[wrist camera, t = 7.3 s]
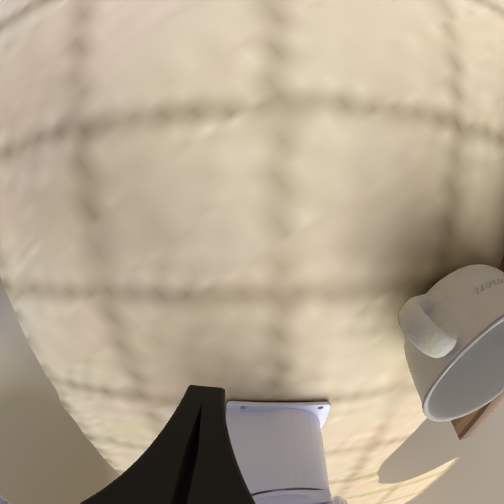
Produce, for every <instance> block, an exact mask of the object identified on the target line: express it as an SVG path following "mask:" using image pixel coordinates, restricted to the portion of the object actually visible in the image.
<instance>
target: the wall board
mask: <svg viewBox="0 0 504 504" xmlns="http://www.w3.org/2000/svg"><path fill="white" fill-rule="evenodd" d="M500 270H501V271H502V272H504V258H503V261H502V264H501V268H500ZM503 398H504V391H503V392H502V393H501V394H499V395H498V396H497V397H496V398H494V399H493V400H492V401H490V402H489V403H487V404H486V405H484V406H483V407H481V408H479V409H478V410H476V411H474V412H472V413H470V414H467V415H465V416H463V417H460V418H457V419H453V420H451V422H452V424H453V426H454V428H455V431H456V433H457V435H458V437H459V440H461V439H464V438H467V437H470V436H472V435H474V433H475V432H476V431H477V430H478V429H479V428H480V427H481V426H482V424H483V423H484V422H485V421H486V420H487V418H488V417H489V416H490V415H491V413H492V412H493V411H494V410H495V408H496V407H497V406H498V404H499V403H500V402H501V401H502V399H503Z"/></svg>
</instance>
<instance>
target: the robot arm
mask: <svg viewBox="0 0 504 504" xmlns="http://www.w3.org/2000/svg"><path fill="white" fill-rule="evenodd" d="M226 408H227V411H226V417H225V390H224V389H223V388H217V387H206V386H196V385H190V386H188V389H187V391H186V393H185V395H184V397H183V399H182V400H181V402H180V404H179V406H178V407H177V409H176V411H175V412H174V414H173V415H172V417H171V418H170V420H169V421H168V423H167V424H166V426H165V427H164V429H163V430H162V431H161V433H160V434H159V435H158V437H157V438H156V439H155V440H154V442H153V443H152V444H151V445H150V447H149V448H148V449H147V450H146V451H145V452H144V453H143V454H142V456H141V457H140V458H139V459H138V460H137V461H136V462H135V463H134V464H133V465H132V466H131V467H129V468H128V469H127V470H126V471H125V472H124V473H123V474H122V475H121V476H119V477H118V478H117V479H116V480H114V481H113V482H112V483H110V484H109V485H108V486H107V487H105V488H104V489H102V490H101V491H99V492H98V493H96V494H95V495H93V496H91V497H90V498H88V499H86V500H85V501H83V502H81V503H80V504H347V501H346V500H345V499H343V498H341V497H340V496H336V497H333V500H332V497H331V493H330V490H329V483H328V475H327V468H326V461H325V454H324V447H323V440H322V433H321V430H322V428H323V425H324V423H325V420H326V418H327V415H328V413H329V410H330V408H331V404H330V402H297V403H273V402H242V401H229V402H227V406H226ZM0 504H12V503H10V502H9V501H7V500H5V499H4V498H3V497H1V496H0Z"/></svg>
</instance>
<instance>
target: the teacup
mask: <svg viewBox="0 0 504 504" xmlns="http://www.w3.org/2000/svg"><path fill="white" fill-rule="evenodd" d="M398 320H399V324H400V326H401V329H402V331H403V332H404V334H405V341H404V348H405V355H406V360H407V363H408V366H409V369H410V372H411V375H412V378H413V380H414V383H415V386H416V388H417V391H418V393H419V396H420V398H421V401H422V408H423V412H424V414H425V415H426V416H427V417H428V418H429V419H430V420H433V421H449V420H453V419H457V418H460V417H463V416H465V415H467V414H470V413H472V412H474V411H476V410H478V409H479V408H481V407H483V406H484V405H486V404H487V403H489V402H490V401H492V400H493V399H494V398H496V397H497V396H498V395H499V394H501V393H502V392H503V391H504V272H502V271H501V270H499V269H497V268H495V267H493V266H489V265H484V264H475V265H469V266H465V267H462V268H460V269H457V270H455V271H454V272H452V273H450V274H448V275H447V276H445V277H444V278H442V279H441V280H439V281H438V282H437V283H436V284H435V285H434V286H432V287H431V289H430V290H429V291H428V292H427V293H426V294H422V295H420V296H414V297H412V298H410V299H409V300H408V301H407V302H406V303H405V304H404V306H403V307H402V309H401V310H400V313H399V316H398Z"/></svg>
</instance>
